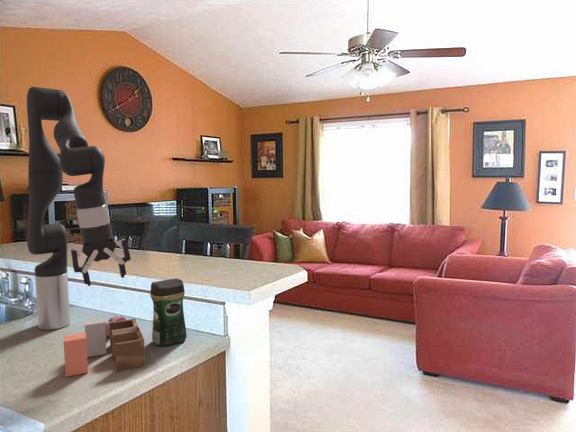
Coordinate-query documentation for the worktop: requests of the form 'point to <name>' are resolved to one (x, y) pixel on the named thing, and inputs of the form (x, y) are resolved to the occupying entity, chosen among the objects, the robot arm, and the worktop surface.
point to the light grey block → (95, 337)
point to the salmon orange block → (75, 354)
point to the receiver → (127, 344)
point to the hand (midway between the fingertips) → (106, 281)
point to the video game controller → (112, 319)
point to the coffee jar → (168, 312)
